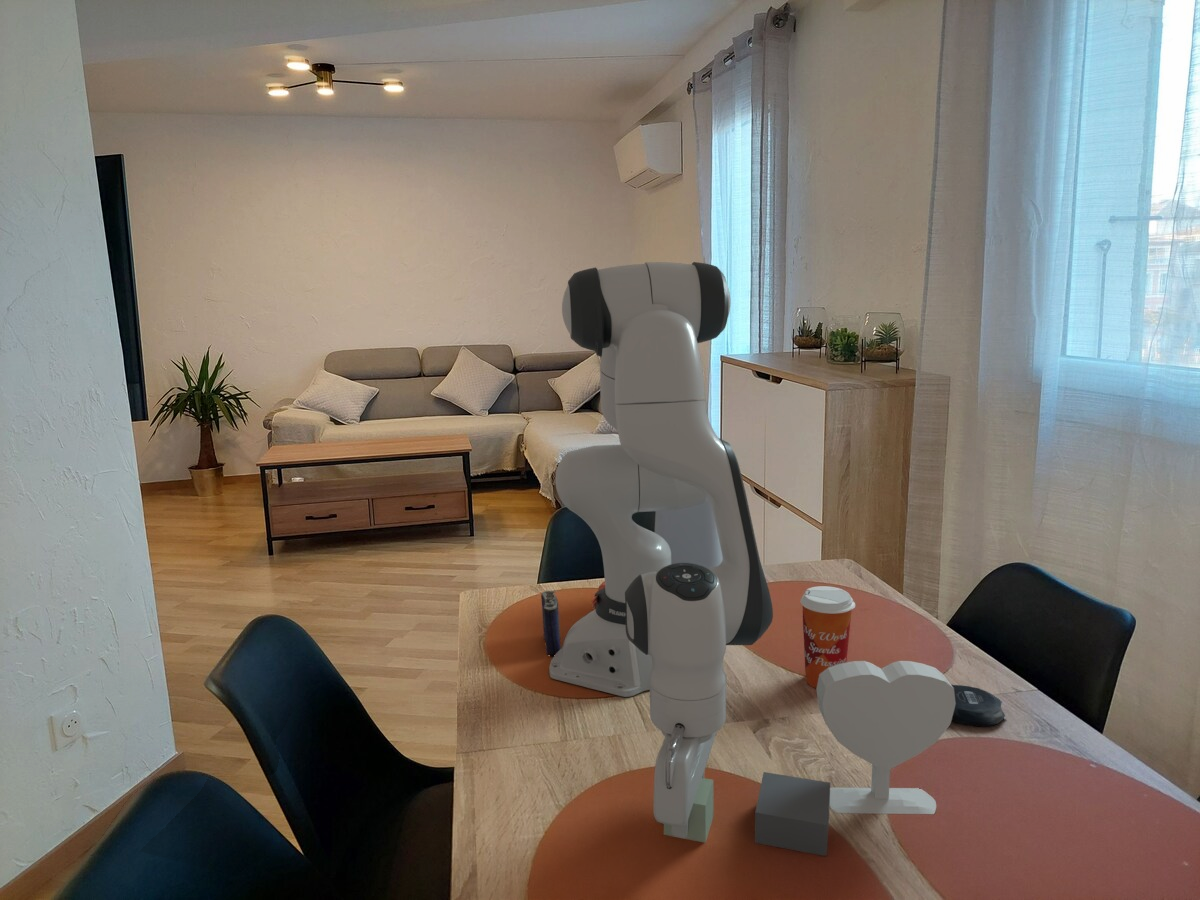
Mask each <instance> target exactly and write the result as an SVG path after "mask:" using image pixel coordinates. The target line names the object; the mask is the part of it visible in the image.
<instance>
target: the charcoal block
mask: <svg viewBox="0 0 1200 900" xmlns="http://www.w3.org/2000/svg"><path fill="white" fill-rule="evenodd" d="M761 777H762V778H761V781H760V782H761V783H760V787H759V788H760V789H759V792H758V797H757V802H756V806H755V807H756V808H755V811H754V814H755V815H754V822H755V823H754V843H755V844H760V845H764V846H771V847H776V848H781V849H787V850H791V851H798V852H802V853H808V854H813V855H817V856H824V857H827V854H828V853H827V852H828V839H829V837H828V836H829V823H830V822H829V821H830V809H831V807H830V788H831V782H830V781H829V782H828V781H823V780H817V779H816V780H815V779H811V778H810V779H809V778H803V777H797V776H792V775H791V776H790V775H785V774H778V773H772V772H766V771H763V774H762V776H761Z"/></svg>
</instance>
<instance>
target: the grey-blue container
mask: <svg viewBox="0 0 1200 900" xmlns="http://www.w3.org/2000/svg"><path fill="white" fill-rule="evenodd" d="M654 518H655V519H654V533H656V534H658V535H659V536H661V537H662V538H663V539H664V540H665V541H666V542H667V543H668V545H669V547H670V550H671V564H676V563H692V564H697V565H700V566H703V567H705V568H712V567H717V566H719V565H720V564H721V562H722V559H723V557H722V552H721V547H720V542H719V538H718V533H717V529H716V524H715V519H714V515H713V510H712V506H711V503H710V501H709V499H708V500H707V501H706V502H705V503H704V504H701V505H697V506H693V507H689V508H685V509H680V510H671V511H655V517H654Z"/></svg>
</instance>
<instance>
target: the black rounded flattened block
mask: <svg viewBox="0 0 1200 900" xmlns="http://www.w3.org/2000/svg"><path fill="white" fill-rule="evenodd" d="M950 684H951V683H950ZM951 685H952V687H953V688H954V694H955V703H956V704H955V708H954V712H953V716H952V720H951V722H956V723H957V724H958V723H959V724H963V725H967V726H970V725H971V726H976V727H990V726H995V725H997V724H999V723H1000V722H1002V720H1004V718H1005V717H1006V714H1005V713H1004V712H1003V711H1004V710H1003V709H1002V708H1003V707H1002V703H1003V701H1002V700H1001V699H999V697H997V696H995V694H992V693H990V692H989V691H987V690H984V689H981V688H979V687H975V686H974V687H973V686H969V685H959V684H951Z"/></svg>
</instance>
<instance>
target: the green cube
mask: <svg viewBox="0 0 1200 900" xmlns="http://www.w3.org/2000/svg"><path fill="white" fill-rule="evenodd" d="M713 819H714V779H709V778H705V777H704V778H702V779H701V782H700V785H699V788H698V791H697V794H696V797H695V800H694V803H693V806H692V810H691V813H690V816H689V831H688V834H687V837H686V838H683V839H685V840H689V841H695V842H698V843H699V842H700V843H707V839H708V835H709V832H710V829H711V825H712V822H713ZM663 835H665V836H668V837H674V836H673V835H672V827H671V825H667V824H663Z"/></svg>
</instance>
